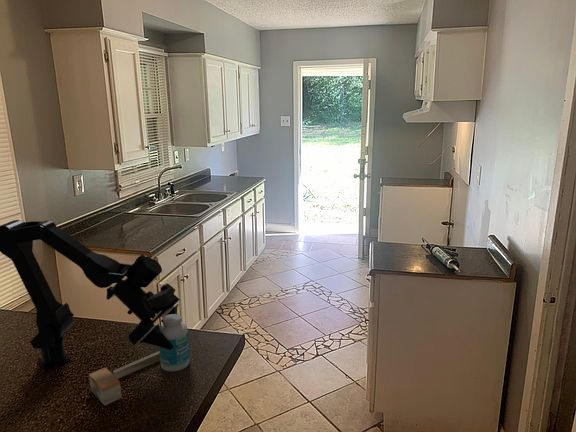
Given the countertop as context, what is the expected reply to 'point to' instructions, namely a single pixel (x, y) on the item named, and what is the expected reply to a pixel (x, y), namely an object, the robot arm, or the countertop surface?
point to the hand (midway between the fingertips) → (178, 340)
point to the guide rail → (136, 365)
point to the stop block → (105, 386)
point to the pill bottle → (174, 344)
